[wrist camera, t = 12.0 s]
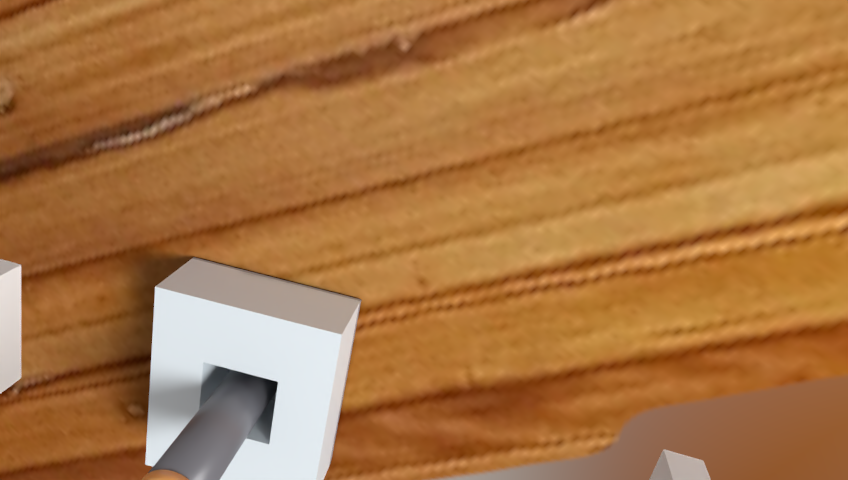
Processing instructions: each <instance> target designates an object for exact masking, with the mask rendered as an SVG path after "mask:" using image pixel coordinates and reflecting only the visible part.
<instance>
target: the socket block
mask: <svg viewBox="0 0 848 480" xmlns="http://www.w3.org/2000/svg"><path fill="white" fill-rule="evenodd" d="M360 304H361V299H357V298H353V297H349V296H345V295H341V294H337V293H333V292H329V291H325V290H321V289H317V288H313V287H309V286H306V285H302V284H298V283H294V282H290V281H286V280H282V279H278V278H274V277H270V276H266V275H262V274H258V273H254V272H250V271H246V270H242V269H238V268H234V267H230V266H226V265H223V264H219V263H215V262H211V261H207V260H203V259H199V258H195V257H193V258H192V259H191V260H189V261H188V262H187V263H185V264H184V265H183V266H181V267H180V268H179V269H178V270H176V271H175V272H174V273H172V274H171V275H170V276H168V277H167V278H166V279H164V280H163V281H162V282H161V283H159V284H158V285H157V286H155V299H154V317H153V335H152V353H151V371H150V390H149V408H148V426H147V444H146V462H145V465H149V466H154V465H155V464H156V463H157V462H158V460H159V459H160V458H161V457H162V455H163V454H164V453H165V452H166V450H167V449H168V448H169V447H170V445H171V444H172V443H173V442H174V440H175V439H176V438H177V437H178V435H179V434H180V433H181V432H182V430H183V429H184V428H185V427H186V425H187V424H188V423H189V422H190V420H191V419H192V418H193V417H194V415H195V414H196V413H197V412H198V410H199V409H200V408H201V407H202V405H203V404H204V403H205V402H206V400H207V399H208V398H209V397H210V395H211V394H212V393H213V392H214V390H215V389H216V388H217V387H218V385H219V384H220V383H221V382H222V380H223V379H224V378H225V377H226V375H227V374H228V373H229V372H230V370H235V371H239V372H243V373H246V374H250V375H254V376H258V377H262V378H265V379H269V380H273V381H277V382H278V385H277V391H276V392H275V394H274V396H273V397H272V399H271V400H270V402H269V403H268V405H267V406H266V408H265V410H264V411H263V413H262V414H261V416H260V417H259V419H258V421H257V422H256V424H255V425H254V427H253V428H252V430H251V431H250V433H249V435H248V436H247V438H246V439H245V441H244V442H243V444H242V446H241V447H240V449H239V450H238V452H237V453H236V455H235V456H234V458H233V460H232V461H231V463H230V464H229V466H228V467H227V469H226V471H225V472H224V474H223V475H222V477H221V478H220V480H324V477H325V475H326V472H327V470H328V468H329V465H330V463H331V459H332V453H333V448H334V443H335V437H336V432H337V427H338V421H339V416H340V411H341V405H342V400H343V395H344V389H345V384H346V379H347V373H348V368H349V363H350V357H351V352H352V347H353V341H354V336H355V331H356V325H357V320H358V314H359V309H360Z"/></svg>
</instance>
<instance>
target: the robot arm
mask: <svg viewBox="0 0 848 480" xmlns="http://www.w3.org/2000/svg"><path fill="white" fill-rule="evenodd" d="M20 378H21V265H20V264H16V263H13V262H9V261H6V260H2V259H0V393H2V392H3V391H4V390H6V389H7V388H8V387H10V386H11V385H12V384H14V383H15V382H16V381H18V380H19V379H20ZM649 480H710V477H709V474H708V471H707V469H706V466H705V464H704V461H703V460H700V459H696V458H692V457H689V456H686V455H682V454H679V453H675V452H672V451H668V450H665V449H664V450H663V452H662V454H661V456H660V458H659V460H658V462H657V465H656V467H655V469H654V471H653V473H652V475H651V477H650V479H649Z"/></svg>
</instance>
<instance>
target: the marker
mask: <svg viewBox="0 0 848 480" xmlns="http://www.w3.org/2000/svg"><path fill="white" fill-rule="evenodd" d="M277 385H278V382H277V381H273V380H269V379H265V378H262V377H258V376H254V375H250V374H246V373H243V372H239V371H235V370H230V372H229V373H228V374H227V375H226V377H225V378H224V379H223V380H222V382H221V383H220V384H219V385H218V387H217V388H216V389H215V390H214V392H213V393H212V394H211V395H210V397H209V398H208V399H207V400H206V402H205V403H204V404H203V405H202V407H201V408H200V409H199V410H198V412H197V413H196V414H195V415H194V417H193V418H192V419H191V420H190V422H189V423H188V424H187V425H186V427H185V428H184V429H183V430H182V432H181V433H180V434H179V435H178V437H177V438H176V439H175V440H174V442H173V443H172V444H171V445H170V447H169V448H168V449H167V450H166V452H165V453H164V454H163V455H162V457H161V458H160V459H159V460H158V462H157V463H156V464H155V465H154V466H153V468H152V469H151V470H150V471H149V473H148V474H146V475H145V476H144V477H143V479H142V480H220V478H221V477H222V475H223V474H224V472H225V471H226V469H227V467H228V466H229V464H230V463H231V461H232V460H233V458H234V456H235V455H236V453H237V452H238V450H239V449H240V447H241V446H242V444H243V442H244V441H245V439H246V438H247V436H248V435H249V433H250V431H251V430H252V428H253V427H254V425H255V424H256V422H257V421H258V419H259V417H260V416H261V414H262V413H263V411H264V410H265V408H266V406H267V405H268V403H269V402H270V400H271V399H272V397H273V396H274V394H275V392H276V391H277Z"/></svg>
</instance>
